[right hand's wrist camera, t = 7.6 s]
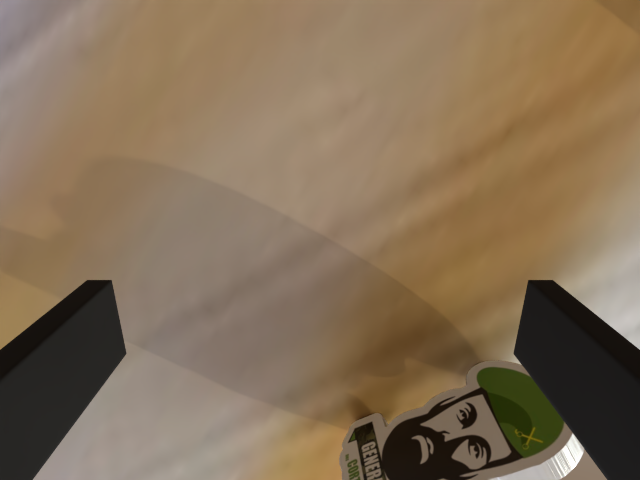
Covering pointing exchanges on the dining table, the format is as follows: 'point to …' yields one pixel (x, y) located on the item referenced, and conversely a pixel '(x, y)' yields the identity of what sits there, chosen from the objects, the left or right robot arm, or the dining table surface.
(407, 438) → the cutout
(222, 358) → the dining table surface
